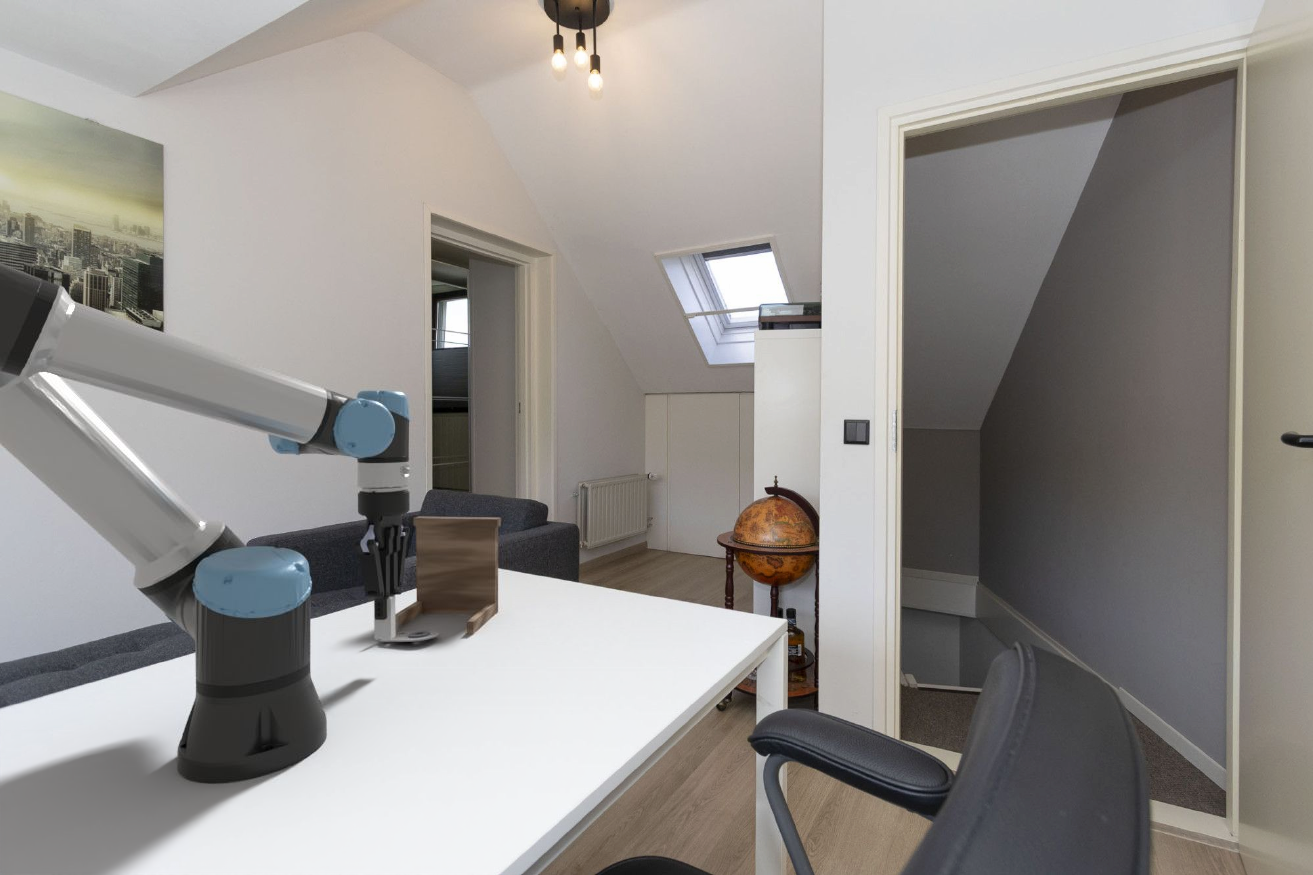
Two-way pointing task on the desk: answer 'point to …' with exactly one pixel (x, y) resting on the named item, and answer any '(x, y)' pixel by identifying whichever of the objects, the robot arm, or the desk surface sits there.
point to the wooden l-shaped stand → (456, 569)
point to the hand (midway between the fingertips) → (385, 637)
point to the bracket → (410, 635)
